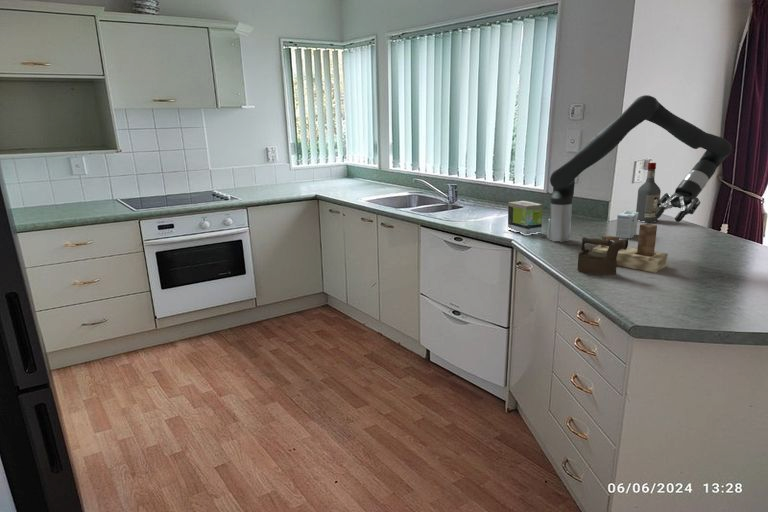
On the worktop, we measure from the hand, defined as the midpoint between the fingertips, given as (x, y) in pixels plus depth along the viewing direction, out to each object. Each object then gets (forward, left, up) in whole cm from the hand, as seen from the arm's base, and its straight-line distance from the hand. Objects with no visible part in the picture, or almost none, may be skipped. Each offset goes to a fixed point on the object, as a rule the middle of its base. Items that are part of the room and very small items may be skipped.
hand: (666, 218), depth 186 cm
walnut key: (-3, -8, -17) cm, 20 cm away
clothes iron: (-13, -25, -18) cm, 33 cm away
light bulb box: (-27, +34, -18) cm, 47 cm away
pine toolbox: (-9, -8, -17) cm, 21 cm away
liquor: (-32, +71, -18) cm, 80 cm away
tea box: (-68, +13, -18) cm, 72 cm away
